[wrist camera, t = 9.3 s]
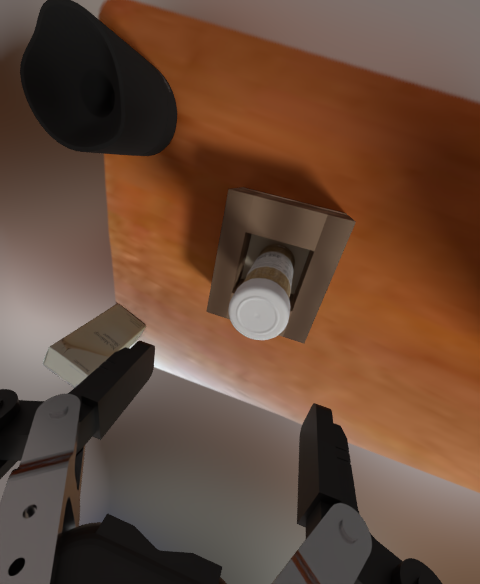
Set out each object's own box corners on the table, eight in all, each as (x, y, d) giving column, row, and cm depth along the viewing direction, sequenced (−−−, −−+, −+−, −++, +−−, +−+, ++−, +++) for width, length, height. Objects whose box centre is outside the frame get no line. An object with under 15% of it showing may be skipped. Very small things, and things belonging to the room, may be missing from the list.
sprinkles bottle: (255, 274, 31) (223, 334, 19) (261, 239, 29) (230, 280, 17) (291, 282, 30) (281, 349, 19) (300, 247, 28) (295, 295, 17)
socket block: (346, 213, 27) (355, 221, 22) (304, 317, 34) (304, 343, 28) (242, 187, 29) (228, 189, 23) (221, 291, 35) (206, 311, 30)
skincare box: (147, 325, 41) (91, 376, 30) (137, 340, 43) (80, 394, 32) (116, 301, 41) (48, 345, 30) (107, 318, 43) (40, 365, 32)
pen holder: (185, 159, 29) (133, 150, 20) (116, 160, 31) (41, 152, 22) (177, 54, 25) (107, -13, 16) (99, 63, 27) (-1, 7, 18)
